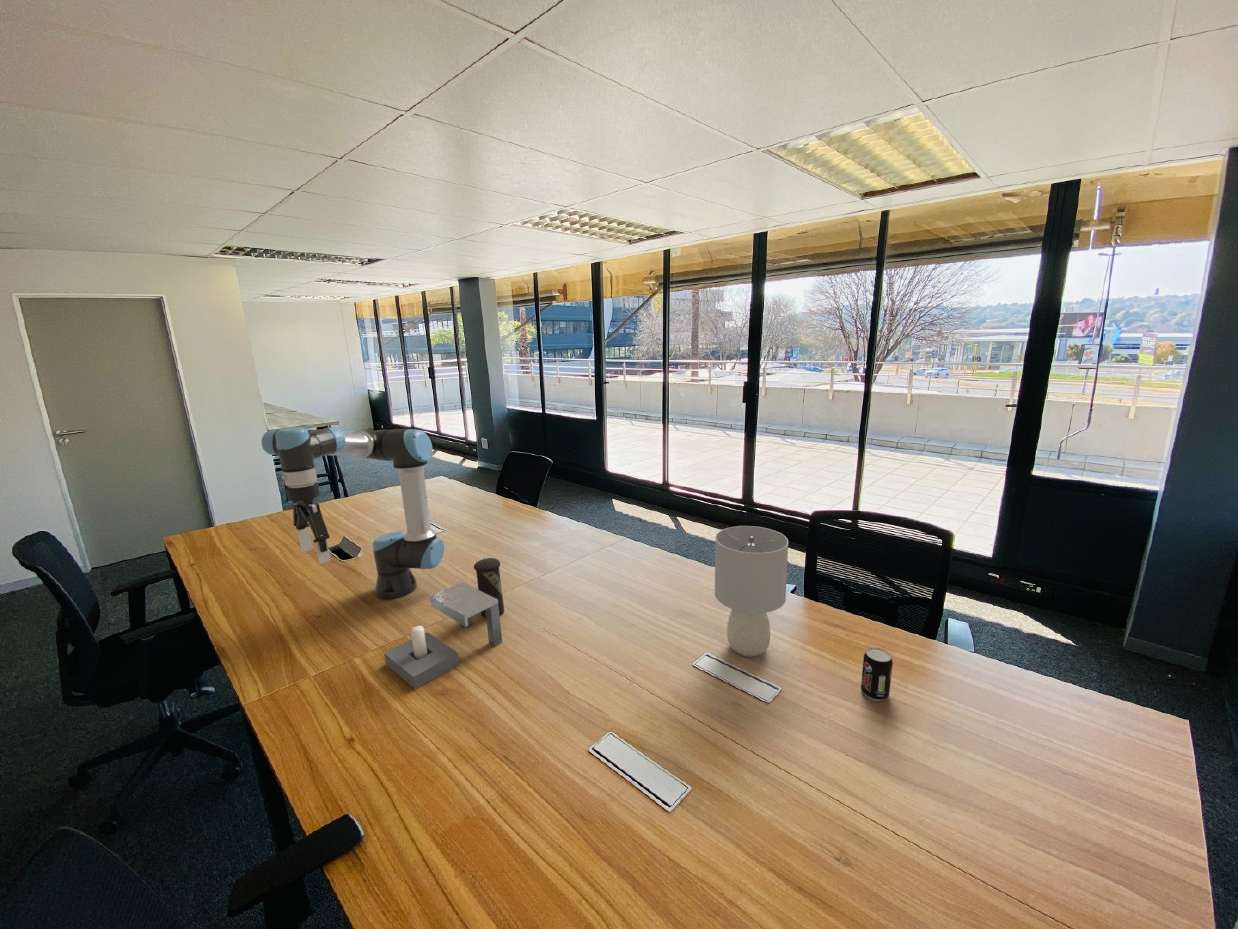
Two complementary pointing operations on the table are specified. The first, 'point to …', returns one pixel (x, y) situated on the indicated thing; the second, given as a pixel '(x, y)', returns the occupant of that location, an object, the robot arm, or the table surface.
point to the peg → (418, 642)
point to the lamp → (750, 583)
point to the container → (490, 580)
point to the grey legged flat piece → (469, 608)
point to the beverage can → (876, 674)
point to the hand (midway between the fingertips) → (315, 556)
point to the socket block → (421, 661)
